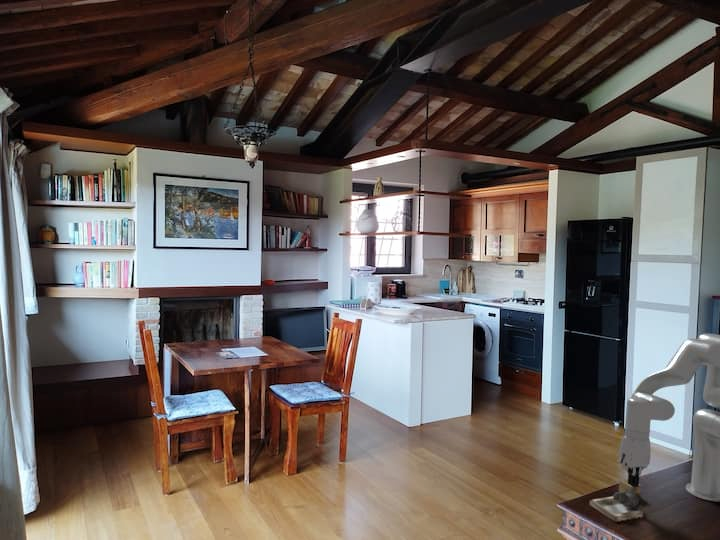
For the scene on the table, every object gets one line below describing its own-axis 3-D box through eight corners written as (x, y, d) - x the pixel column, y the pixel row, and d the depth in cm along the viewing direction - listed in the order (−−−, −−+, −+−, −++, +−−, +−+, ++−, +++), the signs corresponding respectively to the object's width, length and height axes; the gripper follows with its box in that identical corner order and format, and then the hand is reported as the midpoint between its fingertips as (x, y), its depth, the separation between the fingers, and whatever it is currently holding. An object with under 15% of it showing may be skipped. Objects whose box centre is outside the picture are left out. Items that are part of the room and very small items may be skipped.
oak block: (629, 491, 196) (630, 478, 195) (640, 498, 191) (641, 484, 191) (618, 493, 194) (619, 480, 194) (629, 499, 189) (630, 486, 189)
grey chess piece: (646, 505, 180) (625, 500, 174) (632, 513, 182) (611, 508, 177) (637, 489, 184) (616, 483, 179) (624, 496, 187) (603, 491, 182)
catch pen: (616, 500, 188) (616, 495, 188) (642, 516, 178) (643, 511, 177) (589, 504, 184) (589, 500, 184) (614, 521, 174) (615, 516, 173)
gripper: (644, 428, 188) (640, 478, 189) (611, 431, 183) (607, 482, 184) (662, 435, 181) (658, 487, 182) (629, 439, 176) (625, 492, 177)
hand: (633, 485), depth 183 cm, fingers closed
